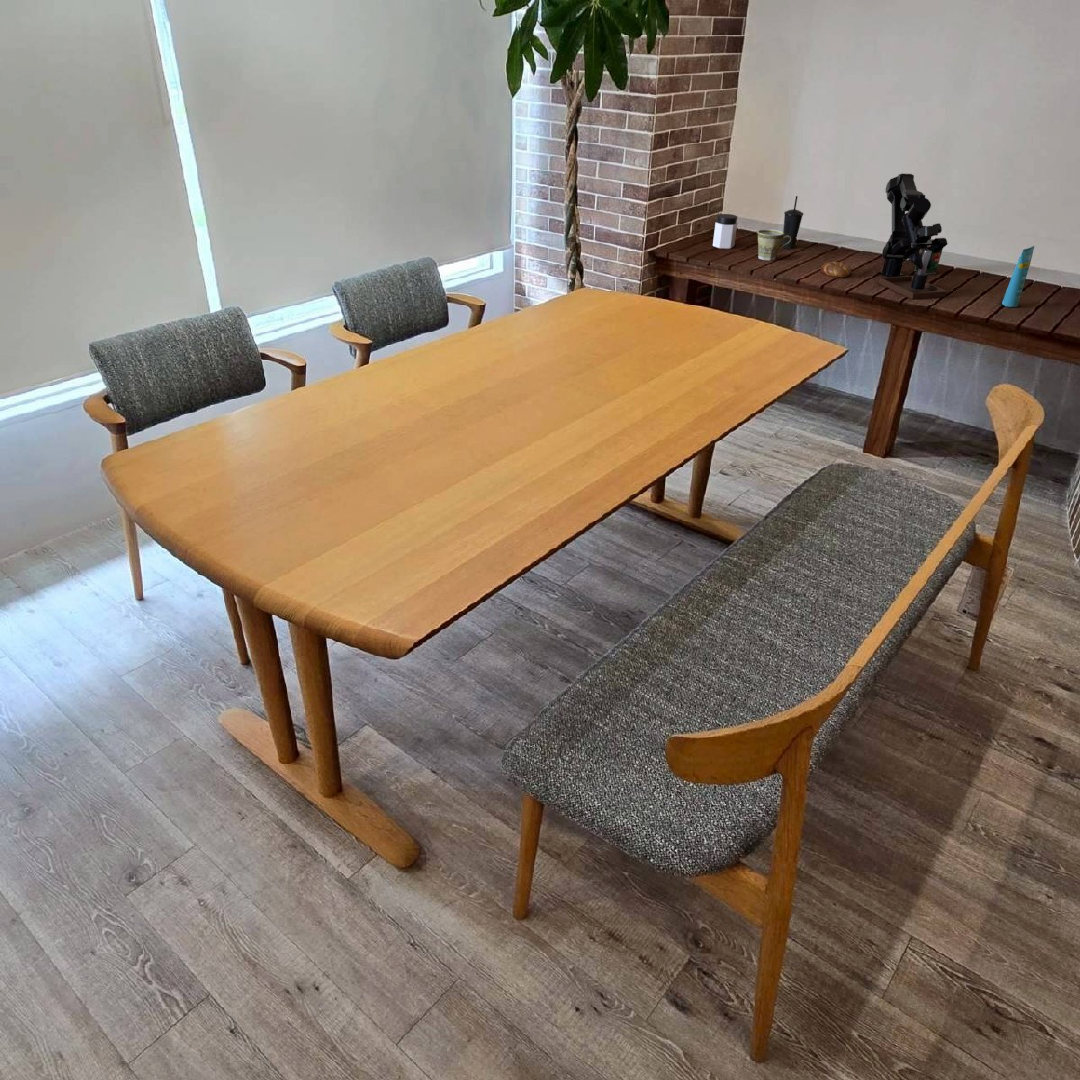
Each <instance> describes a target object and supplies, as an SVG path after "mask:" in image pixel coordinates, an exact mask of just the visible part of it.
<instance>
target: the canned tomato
mask: <svg viewBox="0 0 1080 1080" xmlns="http://www.w3.org/2000/svg"><path fill="white" fill-rule="evenodd" d="M934 239H935V238H931V239H930V240H928V241H927V243H930V242H932V241H933V240H934ZM943 250H944V248H942V249H941V250H940V251H939V252H937V253H933V254H932V260H931V268H930V269H927V271H926V273H927V274H928V275H935V274H937V272H938V268H939V264H940V260H941V257H942V254H943ZM922 253H923V252H922V249H920V257H921V254H922ZM917 271H918V267H917V266H916V265H915V266H914V272H917Z"/></svg>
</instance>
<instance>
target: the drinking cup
mask: <svg viewBox="0 0 1080 1080" xmlns="http://www.w3.org/2000/svg"><path fill="white" fill-rule="evenodd" d="M798 197H799V196H798V195H796V196H795V200H794V205H793V208H792V209H788V210H785V211H784V212H783V214H784V218H783V229H782V230H783V231H782V232H783V233H784V235H783V236H786V235H789V236H790V237H791V241H790V238H789V237H786V238H784V239H783V240H782V242H781V247H782V246H783V245H784V244H786V243H787V242H789V241H790V242H789V243H788V244H786V245H784V246H783V247H782V248H783V249H787V250H792V249H794V248H795V245H796V241H797V238H798V234H799V231H800V226H801V223H802V219H803V216H804V214H805V213H804V212H802V211H800V210H799V209H797V203H798Z"/></svg>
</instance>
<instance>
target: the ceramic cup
mask: <svg viewBox="0 0 1080 1080" xmlns="http://www.w3.org/2000/svg"><path fill="white" fill-rule="evenodd" d="M783 235H784V233H783V231H782V230H778V229H772V228H771V229H768V228H766V229H765V228H764V229H759V230H758V231H757V244H758V245H757V247H758V249H757V253H758V255H757V257H758V259H759V260H761V261H769V262H770V261H775V260H776V258H777V255H778V252H779V251H780V250H781V249H782V248H783V246H784V245H786V244H788V243H789V242H790V241H791V237H790V236H789V235H786V236H783ZM786 237H789V238H790V241H789V242H787V243H786V244H784V245H783V246H782V241H783V239H784V238H786Z"/></svg>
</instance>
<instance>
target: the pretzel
mask: <svg viewBox="0 0 1080 1080" xmlns="http://www.w3.org/2000/svg"><path fill="white" fill-rule="evenodd" d="M820 271H821V273H822V274H825V275H827V276H830V277H833V278H834V277H837V278H842V279H843V278H846V277H848V276H851V274H852V267H851V266H850V265H848V264H847V263H844V262H840V261H832V262H831V261H826V262H825V263H823V264H822V265H821V267H820Z"/></svg>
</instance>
